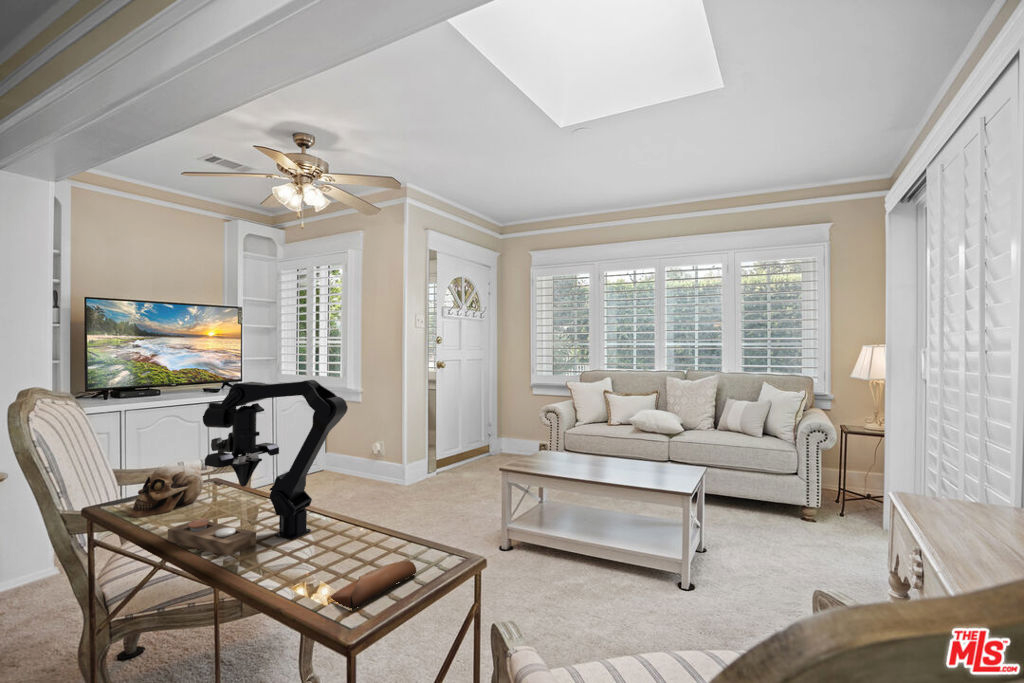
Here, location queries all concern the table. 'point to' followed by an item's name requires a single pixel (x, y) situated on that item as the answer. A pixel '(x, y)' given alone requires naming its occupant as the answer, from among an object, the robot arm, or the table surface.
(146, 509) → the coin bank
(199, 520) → the terracotta plunger
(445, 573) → the table surface
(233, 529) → the white domed knob
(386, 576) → the sunglasses case
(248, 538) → the walnut panel
